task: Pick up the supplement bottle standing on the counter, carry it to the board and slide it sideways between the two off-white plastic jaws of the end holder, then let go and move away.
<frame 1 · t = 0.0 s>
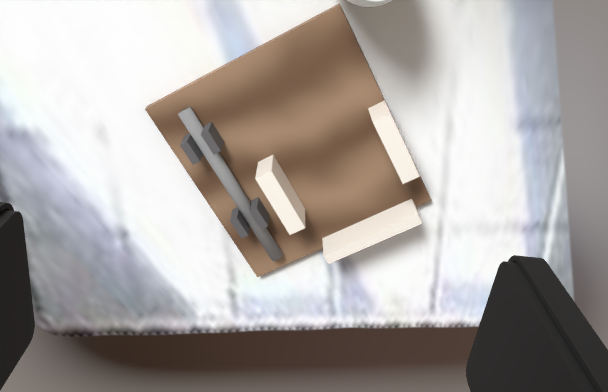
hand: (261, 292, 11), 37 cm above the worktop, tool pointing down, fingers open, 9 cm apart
holder: (335, 160, 50), resting on board
board: (294, 153, 50), on the worktop
cable run: (234, 185, 51), resting on board
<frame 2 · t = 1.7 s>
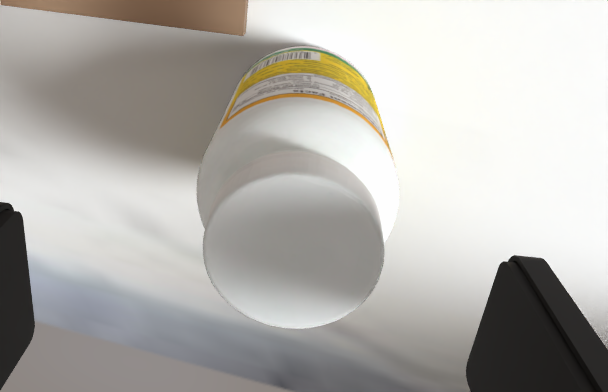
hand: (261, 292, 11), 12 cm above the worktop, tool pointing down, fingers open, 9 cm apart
supplement bottle: (303, 116, 23), on the worktop
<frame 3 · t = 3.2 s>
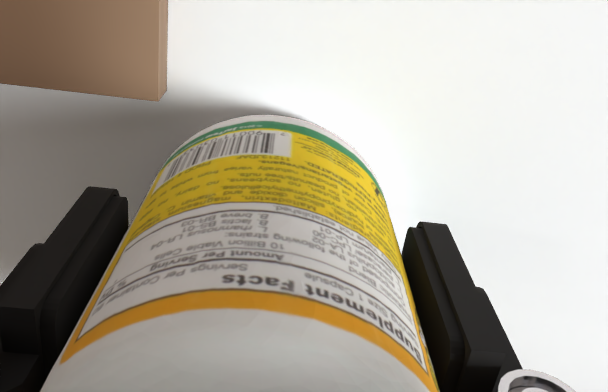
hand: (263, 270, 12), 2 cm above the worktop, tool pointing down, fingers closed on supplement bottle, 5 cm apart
supplement bottle: (268, 218, 14), on the worktop, touching gripper
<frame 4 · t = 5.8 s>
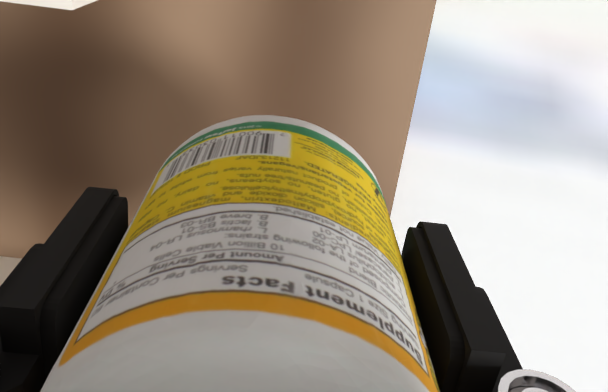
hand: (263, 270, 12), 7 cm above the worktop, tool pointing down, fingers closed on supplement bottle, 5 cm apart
holder: (23, 134, 17), resting on board
board: (95, 37, 17), on the worktop
supplement bottle: (268, 218, 14), point 5 cm above the worktop, touching gripper
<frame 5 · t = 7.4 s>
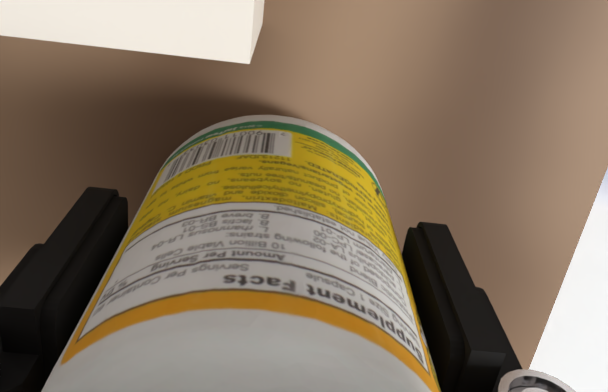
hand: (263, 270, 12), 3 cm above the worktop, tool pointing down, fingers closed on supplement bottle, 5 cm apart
holder: (124, 197, 14), resting on board
board: (216, 77, 13), on the worktop
supplement bottle: (268, 218, 14), point 1 cm above the worktop, touching gripper
when the fingers open (3 cm above the worktop, at t = 8.5 s): supplement bottle stays where it is, resting on board.
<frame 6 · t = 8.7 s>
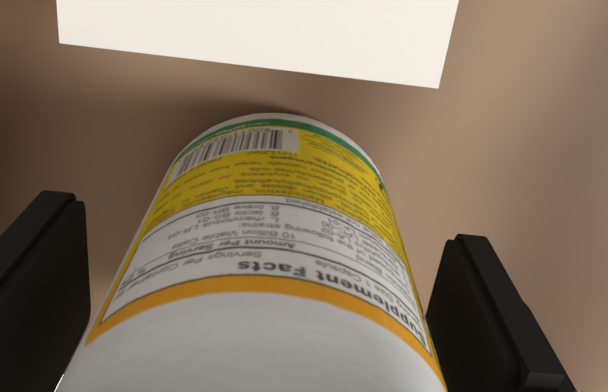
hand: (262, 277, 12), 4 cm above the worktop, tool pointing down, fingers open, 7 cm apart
holder: (248, 210, 14), resting on board
board: (344, 94, 14), on the worktop
supplement bottle: (275, 213, 14), point 1 cm above the worktop, touching board
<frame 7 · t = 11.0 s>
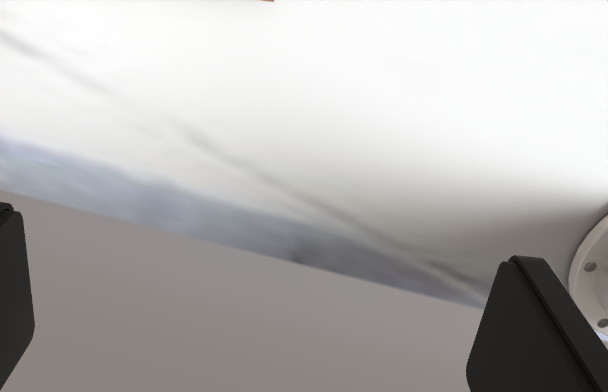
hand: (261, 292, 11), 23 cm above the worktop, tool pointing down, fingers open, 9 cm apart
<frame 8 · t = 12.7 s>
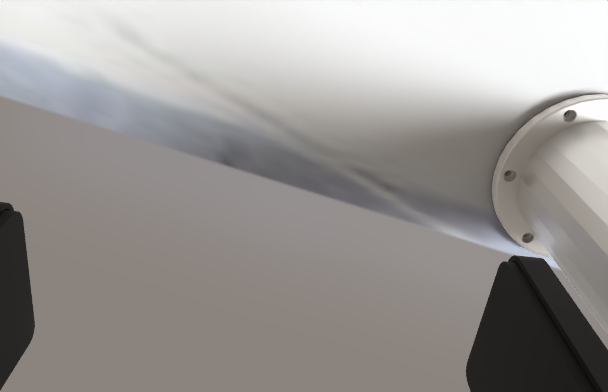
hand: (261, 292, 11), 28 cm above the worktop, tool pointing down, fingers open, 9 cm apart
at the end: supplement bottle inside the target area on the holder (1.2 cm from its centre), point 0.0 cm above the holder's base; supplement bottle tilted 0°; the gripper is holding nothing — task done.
